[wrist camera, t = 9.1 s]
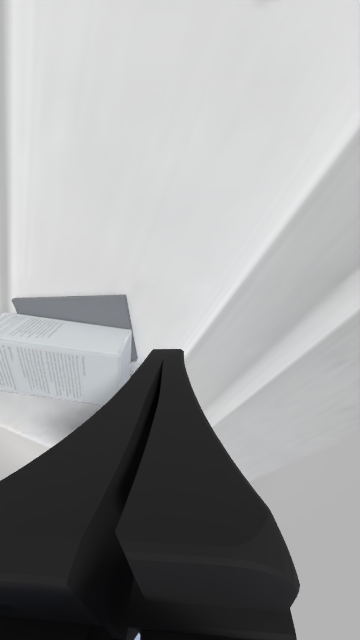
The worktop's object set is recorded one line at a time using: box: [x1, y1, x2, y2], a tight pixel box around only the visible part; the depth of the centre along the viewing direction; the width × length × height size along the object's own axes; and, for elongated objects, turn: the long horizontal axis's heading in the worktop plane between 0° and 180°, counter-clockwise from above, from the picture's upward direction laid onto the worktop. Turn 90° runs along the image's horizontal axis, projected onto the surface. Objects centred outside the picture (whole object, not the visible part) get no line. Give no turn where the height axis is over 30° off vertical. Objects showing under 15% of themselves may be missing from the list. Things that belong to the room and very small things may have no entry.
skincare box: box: [0, 312, 132, 405], centre depth 21 cm, size 6×4×12 cm
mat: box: [12, 295, 137, 361], centre depth 22 cm, size 7×10×1 cm, turn 93°
